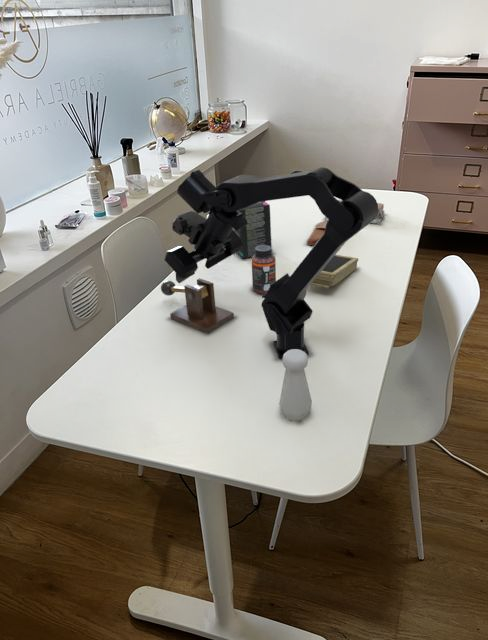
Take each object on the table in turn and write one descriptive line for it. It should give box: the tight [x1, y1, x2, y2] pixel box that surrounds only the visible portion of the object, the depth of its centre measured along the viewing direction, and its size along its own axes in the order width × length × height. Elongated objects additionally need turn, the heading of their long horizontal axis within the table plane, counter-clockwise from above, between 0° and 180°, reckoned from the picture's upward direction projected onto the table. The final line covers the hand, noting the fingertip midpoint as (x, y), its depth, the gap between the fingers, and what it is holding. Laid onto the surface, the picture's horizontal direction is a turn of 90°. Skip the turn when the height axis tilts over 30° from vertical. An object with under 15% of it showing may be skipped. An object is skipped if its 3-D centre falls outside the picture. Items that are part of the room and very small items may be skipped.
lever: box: [160, 280, 208, 298], centre depth 132 cm, size 14×4×4 cm, turn 51°
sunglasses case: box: [306, 219, 328, 247], centre depth 172 cm, size 18×7×7 cm, turn 165°
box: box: [309, 253, 359, 289], centre depth 147 cm, size 8×22×5 cm, turn 155°
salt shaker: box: [278, 349, 313, 422], centre depth 98 cm, size 6×6×13 cm
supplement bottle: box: [251, 245, 277, 295], centre depth 140 cm, size 6×6×11 cm
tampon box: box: [232, 201, 273, 259], centre depth 161 cm, size 11×9×15 cm
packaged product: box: [324, 199, 385, 225], centre depth 184 cm, size 18×5×10 cm
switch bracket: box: [169, 278, 235, 335], centre depth 129 cm, size 12×9×9 cm
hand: (192, 274), depth 127 cm, fingers open, 9 cm apart
